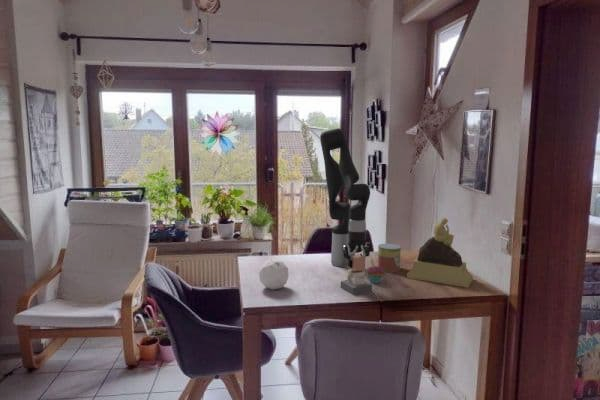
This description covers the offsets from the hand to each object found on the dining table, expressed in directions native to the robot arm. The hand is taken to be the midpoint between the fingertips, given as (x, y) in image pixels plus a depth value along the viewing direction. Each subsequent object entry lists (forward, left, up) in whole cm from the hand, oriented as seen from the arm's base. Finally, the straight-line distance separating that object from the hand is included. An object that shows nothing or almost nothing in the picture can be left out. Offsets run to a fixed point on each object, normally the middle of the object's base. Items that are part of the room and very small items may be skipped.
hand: (356, 266), depth 194 cm
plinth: (0, 0, -10) cm, 10 cm away
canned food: (-18, +32, -11) cm, 38 cm away
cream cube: (0, 0, -7) cm, 7 cm away
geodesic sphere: (-18, -32, -11) cm, 38 cm away
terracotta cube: (0, 0, -1) cm, 1 cm away
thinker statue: (+5, +44, -11) cm, 46 cm away
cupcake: (-5, +14, -11) cm, 18 cm away
